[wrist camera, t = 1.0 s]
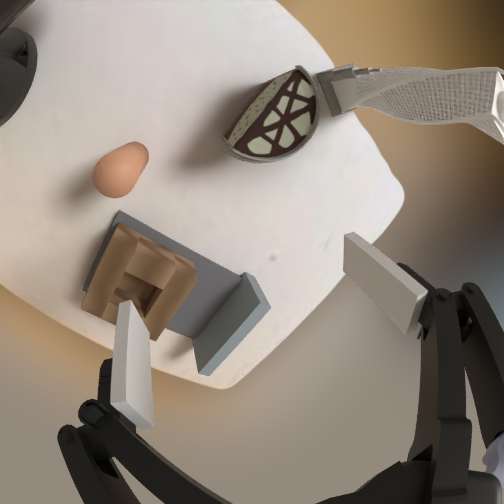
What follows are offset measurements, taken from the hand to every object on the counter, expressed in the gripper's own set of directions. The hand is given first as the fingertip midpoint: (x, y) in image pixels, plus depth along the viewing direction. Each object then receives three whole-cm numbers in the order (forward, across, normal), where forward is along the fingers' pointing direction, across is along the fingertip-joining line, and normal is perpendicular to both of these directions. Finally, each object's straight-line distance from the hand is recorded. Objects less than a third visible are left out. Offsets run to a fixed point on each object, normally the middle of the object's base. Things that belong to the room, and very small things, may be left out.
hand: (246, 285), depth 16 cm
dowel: (+23, -7, +6) cm, 25 cm away
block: (+22, -12, -10) cm, 27 cm away
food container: (+23, +10, +6) cm, 26 cm away
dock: (+23, -9, -13) cm, 28 cm away
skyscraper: (+23, +24, +10) cm, 35 cm away
